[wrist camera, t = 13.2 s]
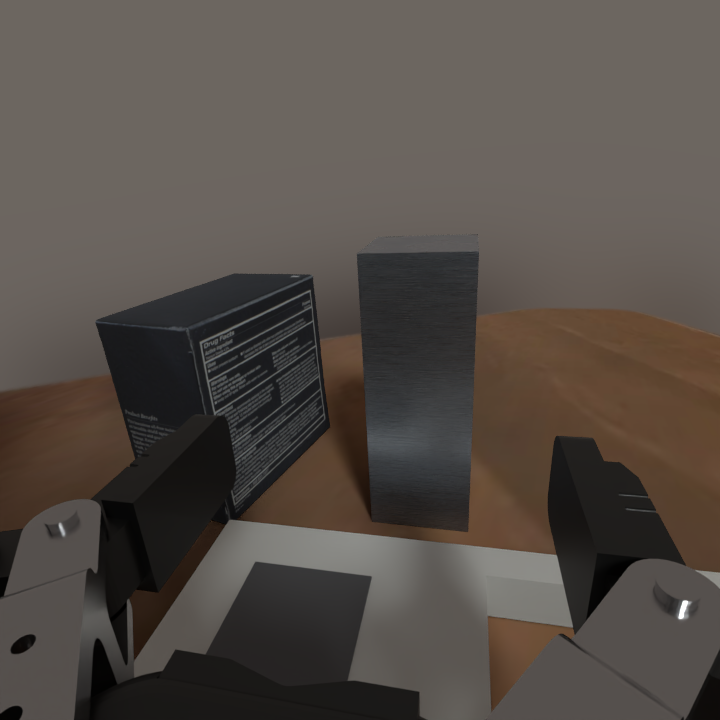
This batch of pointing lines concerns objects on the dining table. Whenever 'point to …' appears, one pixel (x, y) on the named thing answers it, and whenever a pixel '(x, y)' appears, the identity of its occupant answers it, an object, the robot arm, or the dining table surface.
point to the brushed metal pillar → (419, 376)
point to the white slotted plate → (359, 610)
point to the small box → (225, 372)
